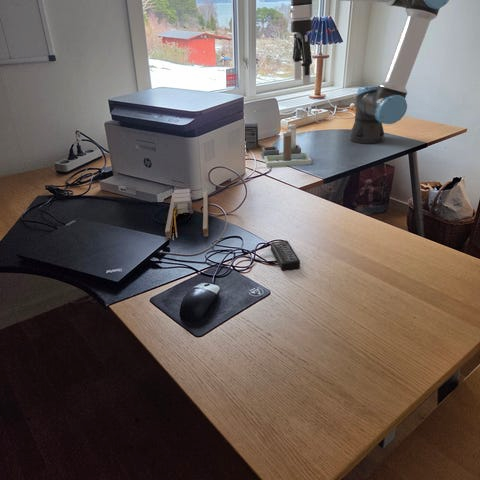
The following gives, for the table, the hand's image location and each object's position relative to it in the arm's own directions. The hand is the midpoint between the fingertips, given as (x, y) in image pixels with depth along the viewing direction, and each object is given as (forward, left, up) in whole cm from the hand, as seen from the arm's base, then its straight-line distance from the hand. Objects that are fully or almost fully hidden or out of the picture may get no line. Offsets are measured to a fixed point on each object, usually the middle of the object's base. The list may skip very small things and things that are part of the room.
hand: (301, 82), depth 161 cm
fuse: (+4, 0, -28) cm, 28 cm away
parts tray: (+7, +9, -29) cm, 31 cm away
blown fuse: (+7, +9, -28) cm, 31 cm away
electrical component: (+46, +55, -29) cm, 77 cm away
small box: (+21, -16, -29) cm, 39 cm away
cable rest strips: (+44, +52, -29) cm, 74 cm away
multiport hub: (+20, +81, -30) cm, 88 cm away
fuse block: (+8, 0, -29) cm, 30 cm away
